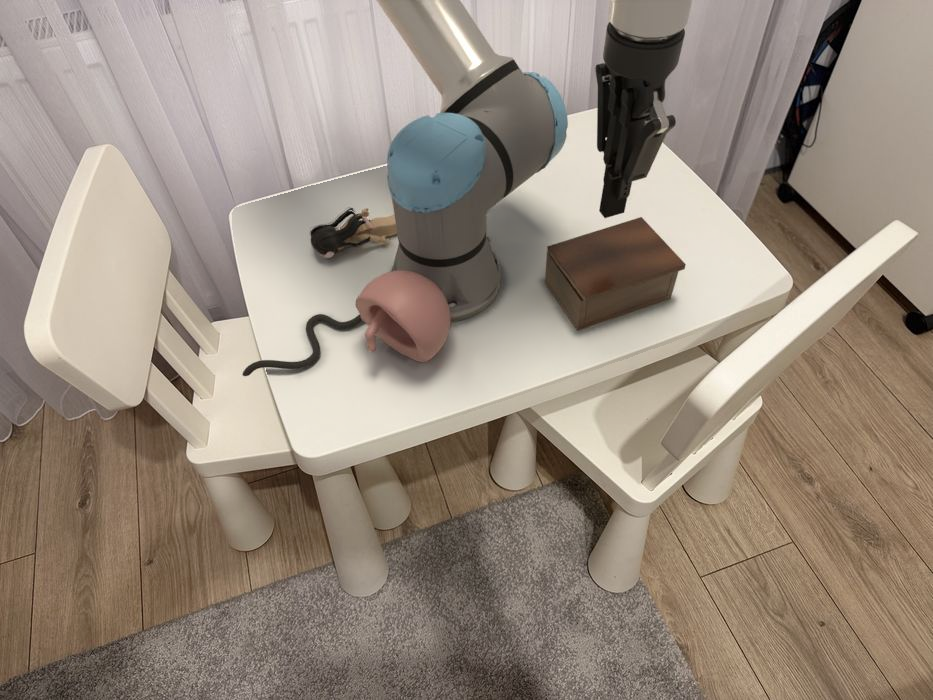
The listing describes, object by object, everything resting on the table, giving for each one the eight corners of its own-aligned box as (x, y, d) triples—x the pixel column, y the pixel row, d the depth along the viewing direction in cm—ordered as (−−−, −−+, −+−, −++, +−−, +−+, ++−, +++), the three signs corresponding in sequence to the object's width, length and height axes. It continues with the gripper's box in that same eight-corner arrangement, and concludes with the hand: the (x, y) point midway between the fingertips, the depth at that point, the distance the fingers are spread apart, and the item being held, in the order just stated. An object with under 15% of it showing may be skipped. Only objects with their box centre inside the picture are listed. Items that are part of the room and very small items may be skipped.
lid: (684, 269, 87) (686, 264, 86) (585, 302, 84) (585, 297, 83) (640, 221, 93) (641, 216, 93) (546, 251, 90) (547, 246, 90)
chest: (670, 298, 92) (679, 268, 88) (577, 331, 89) (581, 301, 85) (633, 253, 98) (640, 221, 93) (544, 282, 95) (546, 251, 90)
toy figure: (393, 208, 107) (305, 242, 102) (393, 178, 101) (299, 211, 96) (416, 238, 103) (325, 274, 98) (416, 208, 98) (320, 244, 93)
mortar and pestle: (479, 347, 82) (402, 400, 83) (451, 305, 92) (382, 353, 92) (429, 275, 75) (345, 333, 76) (404, 238, 85) (330, 289, 86)
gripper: (718, 48, 63) (665, 237, 81) (646, -12, 70) (613, 173, 89) (646, 65, 61) (609, 254, 80) (581, 2, 69) (561, 188, 87)
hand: (611, 211), depth 84 cm, fingers closed
